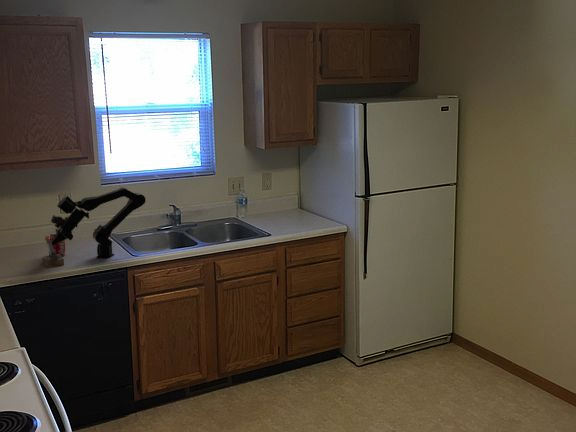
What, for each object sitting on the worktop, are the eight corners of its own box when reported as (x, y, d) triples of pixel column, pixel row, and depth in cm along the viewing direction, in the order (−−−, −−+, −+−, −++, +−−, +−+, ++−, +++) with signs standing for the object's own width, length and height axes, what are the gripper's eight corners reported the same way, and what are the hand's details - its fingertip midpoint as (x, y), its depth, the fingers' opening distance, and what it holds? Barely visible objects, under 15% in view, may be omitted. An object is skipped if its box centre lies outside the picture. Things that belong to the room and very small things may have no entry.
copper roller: (54, 253, 312) (49, 235, 309) (56, 256, 307) (51, 238, 304) (49, 255, 311) (44, 236, 308) (51, 258, 306) (46, 239, 303)
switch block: (60, 259, 316) (59, 248, 314) (64, 264, 307) (63, 252, 306) (43, 262, 312) (42, 250, 311) (46, 267, 303) (45, 255, 302)
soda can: (67, 253, 327) (65, 230, 324) (63, 257, 320) (61, 234, 317) (53, 254, 327) (51, 231, 324) (49, 257, 320) (47, 234, 317)
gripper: (57, 206, 314) (35, 230, 312) (64, 212, 298) (41, 238, 296) (75, 220, 320) (53, 244, 317) (82, 227, 304) (60, 252, 301)
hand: (51, 244), depth 307 cm, fingers closed, pressing on copper roller
